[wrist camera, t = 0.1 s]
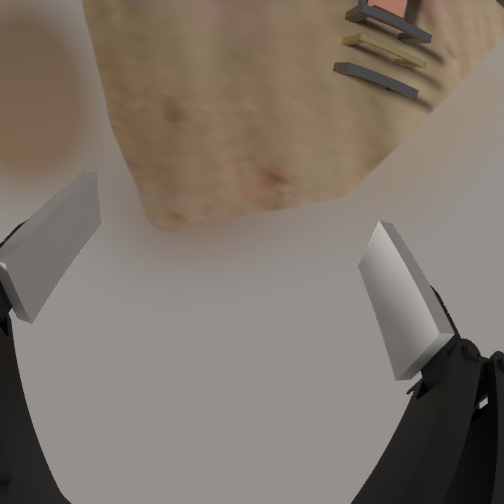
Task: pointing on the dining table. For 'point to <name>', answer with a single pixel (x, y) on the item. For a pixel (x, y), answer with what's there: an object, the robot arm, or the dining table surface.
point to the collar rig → (385, 47)
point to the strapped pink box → (389, 6)
